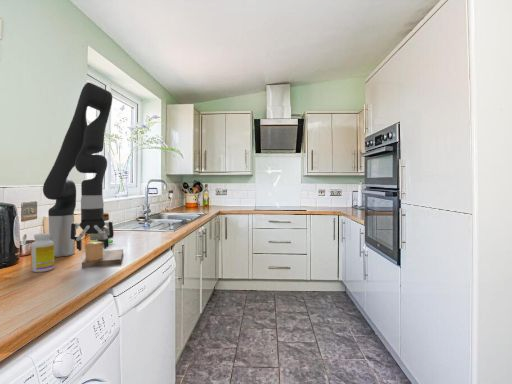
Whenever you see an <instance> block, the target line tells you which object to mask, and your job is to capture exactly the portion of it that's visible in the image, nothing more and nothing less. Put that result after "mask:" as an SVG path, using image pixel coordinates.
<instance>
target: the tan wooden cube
mask: <svg viewBox="0 0 512 384" xmlns="http://www.w3.org/2000/svg"><path fill="white" fill-rule="evenodd" d="M84 248H85V258H86V260H89V261H91V260H99V259H102V258H103V251H104V244H102V242H91V241H89V242H86V243H85V247H84Z"/></svg>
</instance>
